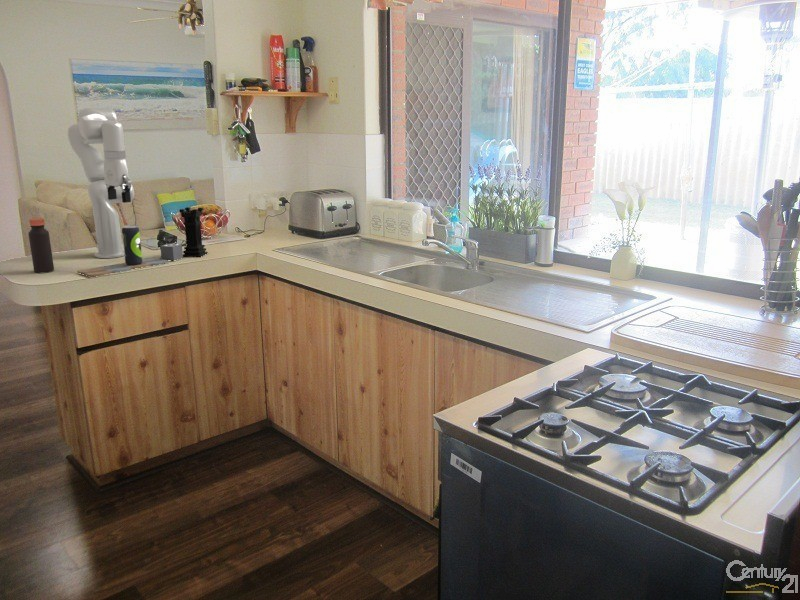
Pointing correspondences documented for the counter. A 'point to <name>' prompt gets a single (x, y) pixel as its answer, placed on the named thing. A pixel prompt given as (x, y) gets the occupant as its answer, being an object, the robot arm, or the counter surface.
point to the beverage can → (132, 245)
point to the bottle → (40, 246)
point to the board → (121, 267)
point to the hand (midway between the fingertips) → (119, 200)
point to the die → (171, 251)
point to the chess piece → (193, 232)
